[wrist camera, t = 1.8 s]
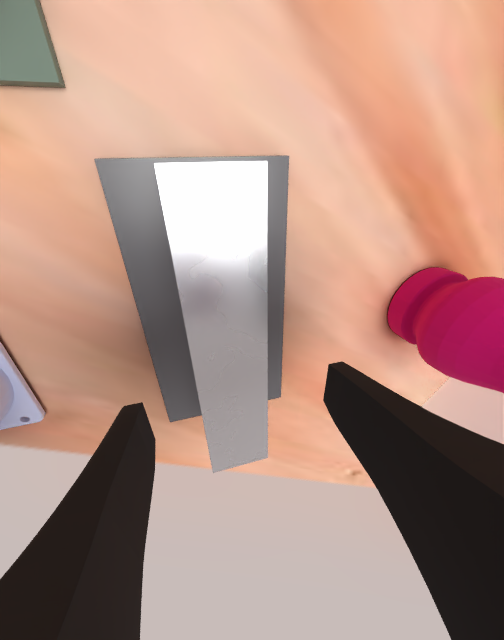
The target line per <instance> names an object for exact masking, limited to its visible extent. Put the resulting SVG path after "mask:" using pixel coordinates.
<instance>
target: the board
mask: <svg viewBox="0 0 504 640" xmlns="http://www.w3.org/2000/svg"><path fill="white" fill-rule="evenodd" d="M243 161H267V289H268V400H270V399H275V398H279V397H281V376H282V347H283V317H284V288H285V258H286V229H287V200H288V170H289V156H234V157H173V158H112V159H95V163H96V166H97V170H98V173H99V177H100V180H101V184H102V187H103V191H104V194H105V198H106V201H107V205H108V208H109V212H110V215H111V219H112V222H113V226H114V229H115V233H116V236H117V239H118V243H119V246H120V250H121V253H122V257H123V260H124V264H125V267H126V271H127V274H128V278H129V281H130V285H131V288H132V292H133V295H134V299H135V302H136V306H137V309H138V313H139V316H140V320H141V323H142V326H143V330H144V333H145V337H146V340H147V344H148V347H149V351H150V354H151V358H152V361H153V365H154V368H155V372H156V375H157V379H158V382H159V386H160V389H161V393H162V396H163V400H164V403H165V406H166V410H167V413H168V417H169V420H170V422H173V421H178V420H182V419H187V418H191V417H195V416H200V415H202V412H201V407H200V402H199V397H198V391H197V386H196V381H195V376H194V370H193V365H192V360H191V355H190V349H189V344H188V339H187V334H186V328H185V323H184V318H183V312H182V307H181V302H180V297H179V291H178V286H177V281H176V276H175V270H174V265H173V260H172V255H171V249H170V244H169V239H168V233H167V228H166V223H165V218H164V212H163V207H162V202H161V197H160V191H159V186H158V181H157V176H156V170H155V165H154V163H194V162H243Z"/></svg>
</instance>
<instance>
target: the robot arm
mask: <svg viewBox="0 0 504 640" xmlns="http://www.w3.org/2000/svg"><path fill="white" fill-rule="evenodd" d="M323 401H324V403H325V405H326V407H327V409H328V411H329V413H330V415H331V417H332V419H333V421H334V423H335V424H336V426H337V428H338V429H339V431H340V432H341V434H342V435H343V437H344V438H345V440H346V441H347V443H348V444H349V446H350V448H351V449H352V451H353V452H354V454H355V455H356V457H357V458H358V460H359V461H360V463H361V464H362V466H363V467H364V469H365V470H366V472H367V473H368V475H369V476H370V478H371V479H372V481H373V483H374V484H375V486H376V488H377V489H378V491H379V493H380V495H381V497H382V498H383V500H384V502H385V504H386V506H387V507H388V509H389V511H390V513H391V515H392V517H393V519H394V521H395V523H396V525H397V526H398V528H399V530H400V532H401V534H402V536H403V538H404V540H405V542H406V544H407V546H408V548H409V549H410V552H411V554H412V556H413V558H414V560H415V562H416V564H417V566H418V568H419V570H420V572H421V574H422V576H423V578H424V581H425V582H426V585H427V586H428V589H429V591H430V593H431V595H432V598H433V600H434V602H435V604H436V606H437V609H438V611H439V613H440V615H441V617H442V619H443V622H444V624H445V626H446V628H447V631H448V633H449V635H450V637H451V640H504V444H502V443H499V442H497V441H494V440H492V439H489V438H487V437H484V436H482V435H480V434H477V433H475V432H473V431H470V430H468V429H466V428H464V427H462V426H459V425H457V424H455V423H453V422H451V421H449V420H446V419H444V418H442V417H440V416H438V415H436V414H434V413H432V412H430V411H428V410H426V409H424V408H423V407H421V406H419V405H417V404H415V403H413V402H411V401H409V400H407V399H406V398H404V397H402V396H400V395H399V394H397V393H395V392H393V391H392V390H390V389H388V388H386V387H385V386H383V385H381V384H380V383H378V382H376V381H375V380H373V379H371V378H370V377H368V376H366V375H365V374H363V373H361V372H360V371H358V370H356V369H354V368H353V367H351V366H349V365H348V364H346V363H344V362H338V363H333V364H329V366H328V373H327V379H326V386H325V393H324V399H323ZM44 416H45V411H44V410H43V408H42V407H41V405H40V403H39V402H38V400H37V399H36V397H35V396H34V394H33V392H32V391H31V389H30V388H29V386H28V384H27V383H26V381H25V380H24V378H23V377H22V375H21V373H20V372H19V370H18V369H17V367H16V366H15V364H14V362H13V361H12V359H11V358H10V356H9V354H8V353H7V351H6V350H5V348H4V347H3V345H2V343H1V342H0V430H2V429H7V428H12V427H17V426H22V425H26V424H31V423H36V422H40V421H41V420H43V418H44ZM154 473H155V437H154V434H153V431H152V429H151V426H150V423H149V420H148V417H147V414H146V411H145V408H144V406H143V403H137V404H132V405H127V406H124V407H123V408H122V409H121V411H120V412H119V414H118V416H117V417H116V419H115V421H114V422H113V424H112V426H111V427H110V429H109V431H108V432H107V434H106V435H105V437H104V439H103V440H102V442H101V443H100V445H99V447H98V448H97V450H96V451H95V453H94V454H93V456H92V457H91V459H90V460H89V462H88V464H87V465H86V467H85V468H84V470H83V471H82V473H81V474H80V476H79V477H78V479H77V480H76V481H75V483H74V484H73V486H72V487H71V488H70V490H69V491H68V493H67V494H66V495H65V497H64V498H63V500H62V501H61V503H60V504H59V505H58V507H57V508H56V510H55V511H54V512H53V514H52V515H51V516H50V518H49V519H48V520H47V522H46V523H45V524H44V526H43V527H42V528H41V529H40V531H39V532H38V534H37V535H36V536H35V537H34V538H33V540H32V541H31V542H30V544H29V545H28V546H27V547H26V549H25V550H24V551H23V552H22V554H21V555H20V556H19V557H18V559H17V560H16V561H15V562H14V564H13V565H12V566H11V567H10V569H9V570H8V571H7V572H6V573H5V574H4V576H3V577H2V578H1V579H0V640H140V620H141V598H142V578H143V562H144V552H145V543H146V535H147V527H148V520H149V512H150V504H151V497H152V489H153V481H154Z"/></svg>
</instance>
